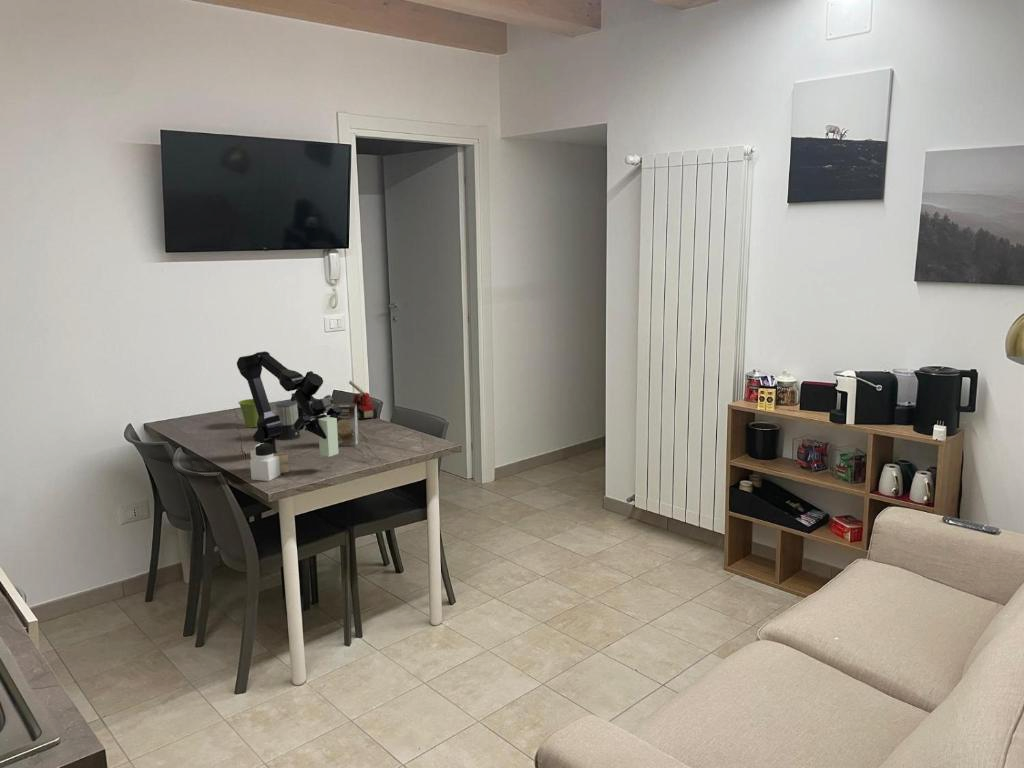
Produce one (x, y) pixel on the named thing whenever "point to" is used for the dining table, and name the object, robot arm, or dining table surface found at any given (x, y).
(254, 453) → the plastic canister
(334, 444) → the sage block
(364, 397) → the toy fire truck
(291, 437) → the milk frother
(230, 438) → the dining table surface
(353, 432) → the coffee box
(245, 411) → the plant pot
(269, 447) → the medicine bottle
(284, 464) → the birch block
